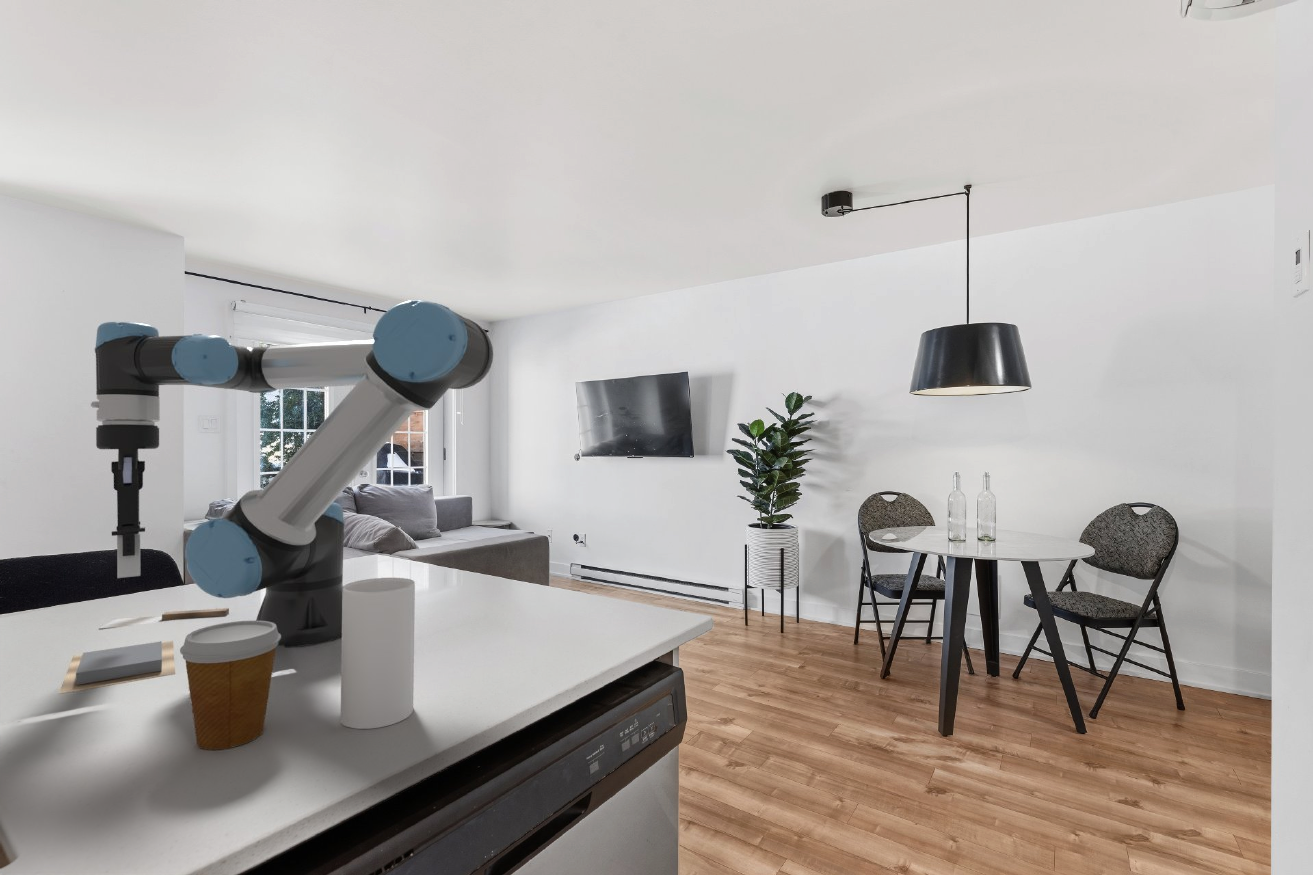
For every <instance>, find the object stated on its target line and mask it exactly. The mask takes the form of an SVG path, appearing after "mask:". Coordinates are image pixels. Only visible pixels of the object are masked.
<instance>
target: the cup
mask: <svg viewBox="0 0 1313 875" xmlns="http://www.w3.org/2000/svg"><path fill="white" fill-rule="evenodd" d="M415 584H416V583H415V580H413V579H410V578H405V577H376V578H366V579H361V580H356V581H352V582H349V583H346V584H345V585H343V590H342V637H341V659H340V660H341V662H340V663H341V666H340V671H341V672H340V673H341V674H340V723H341V724H342V725H343V726H345V727H346V728H347V727H348V728H351V729H355V730H356V729H357V730H368V729H371V730H372V729H379V728H385V727H387V726H391V725H394V724H397V723H400V722H402V721H404V720H405V719H407V718H408V717H410V716H411V714H413V712H414V694H415V693H414V689H415V687H414V678H415V671H414V670H415V618H416V617H415V614H416V613H415V607H416V606H415V605H416V604H415V603H416V598H415V596H416V585H415Z"/></svg>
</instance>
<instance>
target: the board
mask: <svg viewBox="0 0 1313 875" xmlns="http://www.w3.org/2000/svg"><path fill="white" fill-rule="evenodd" d="M174 653H175V651H174V641H173V640H172V641H171V640H169V641H164V642H163V641H162V671H157V672H151V673H145V674H139V675H133V676H127V677H121V678H115V679H109V680H103V681H98V682H92V683H86V684H80V685H76V672H77V669H78V666H79V663H80V661H81V658H82V655H83V653H82V654H77V655H76V654H75V655H73V656H72V659H71V661H70V664H69V666H68V669H67V671H66V673H65V676H64V679H63V682H62V684H61V686H60V690H59V692H58V695H61V694H67V693H74V692H78V691H79V692H80V691H85V690H90V689H96V688H102V687H109V686H114V685H120V684H126V683H132V682H137V681H143V680H149V679H155V678H161V677H166V676H172V675H176V667H175V665H176V664H175V654H174Z"/></svg>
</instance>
